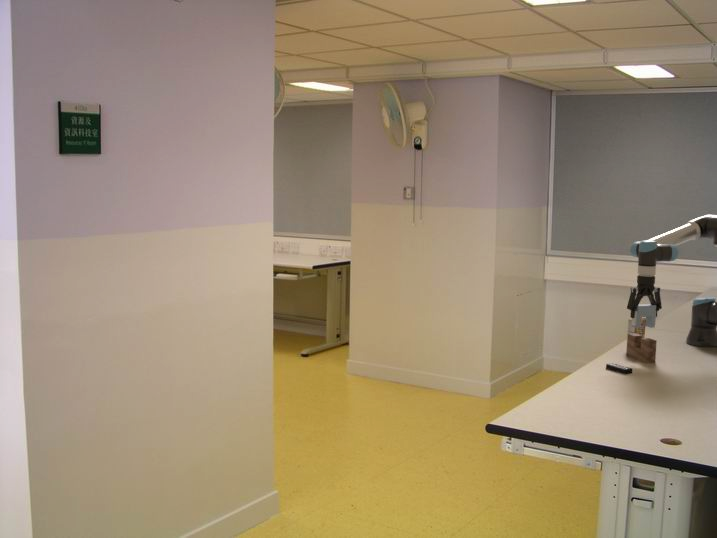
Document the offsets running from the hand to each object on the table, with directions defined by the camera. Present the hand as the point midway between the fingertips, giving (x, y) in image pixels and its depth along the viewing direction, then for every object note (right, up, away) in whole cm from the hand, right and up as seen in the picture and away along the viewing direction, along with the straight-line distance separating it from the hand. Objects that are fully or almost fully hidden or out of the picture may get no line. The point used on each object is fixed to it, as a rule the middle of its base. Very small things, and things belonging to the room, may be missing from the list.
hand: (643, 324), depth 356 cm
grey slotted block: (0, -1, 0) cm, 1 cm away
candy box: (+3, -14, +19) cm, 24 cm away
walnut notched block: (-1, -16, +2) cm, 16 cm away
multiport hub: (-18, -19, -21) cm, 33 cm away
